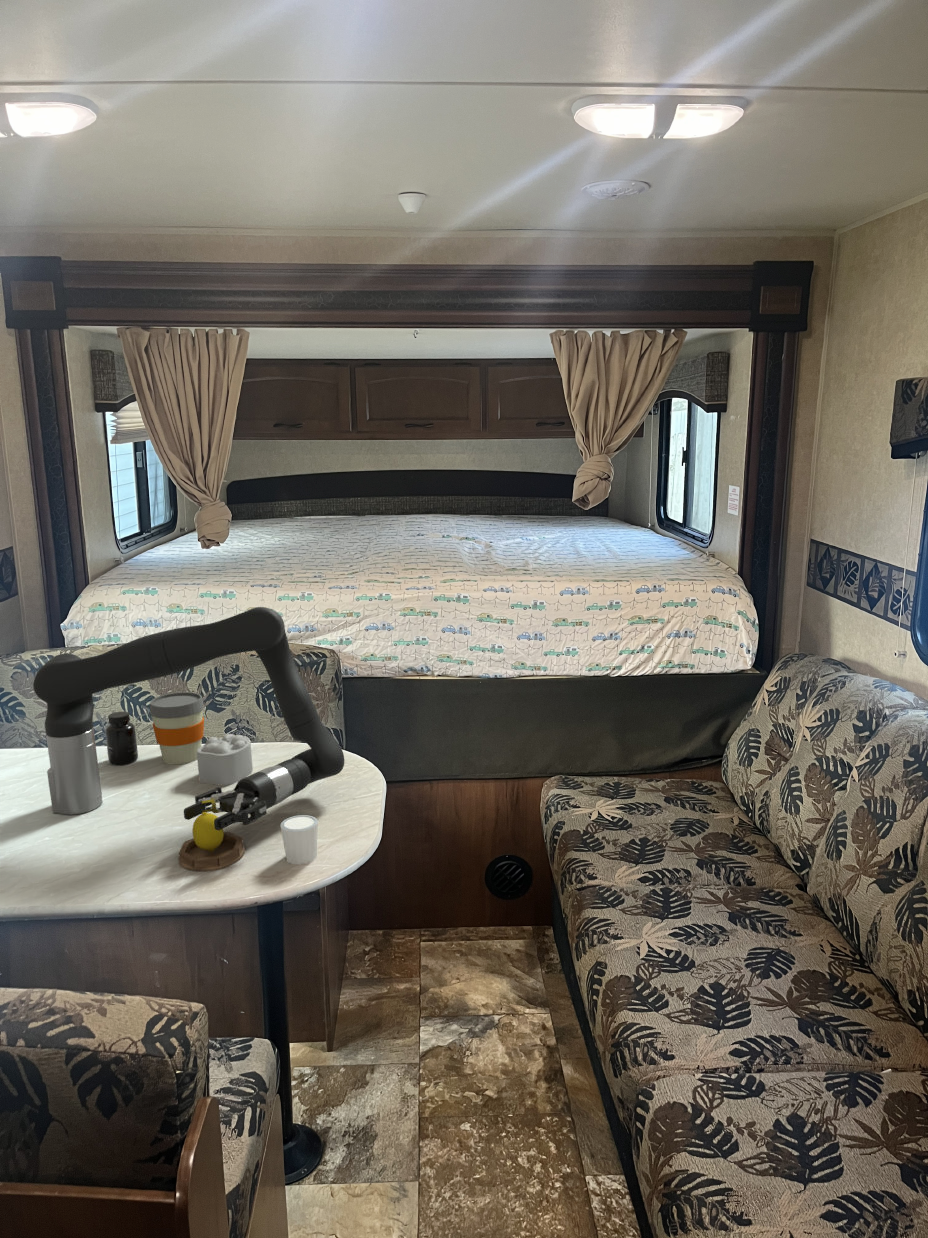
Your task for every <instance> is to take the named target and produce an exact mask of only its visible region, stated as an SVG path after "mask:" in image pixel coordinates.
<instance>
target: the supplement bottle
mask: <svg viewBox="0 0 928 1238" xmlns="http://www.w3.org/2000/svg"><path fill="white" fill-rule="evenodd" d="M130 716H131V715H130V712H128V711H117V712H116V711H115V712H112V713H110V714H108V716H107V718H108V721H107V722H108V725H107V726H106V728H105V729H104V730H105V732H104V733H105V741H106V747H107V749H106V751H107V757H108V758H107V759H108V762H109V764H110V765H112V766H126V765H130V764H133V763H134V762H136V761H137V760H138V759H139V751H138V743H137V742H138V741H137V733H136V732H137V731H136V725H135V724H134V723H133V722H131V717H130Z"/></svg>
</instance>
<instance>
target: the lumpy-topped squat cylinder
mask: <svg viewBox="0 0 928 1238" xmlns="http://www.w3.org/2000/svg"><path fill="white" fill-rule="evenodd" d="M252 753H253V752H252V741H251V740H250V738H249V737H248V736H246V735H242V734H236V735H235V734H233V733H227V734H225V735H224V736H222V737H216V736H211V737H209V738H208V739H207V740H206V742H205V744H203V745H201V747H200V748H199V749H197V760H196V761H197V769H198V771H197V772H198V780H199V782H200V783H202V782H203V783H202V784H213V785H217V786H229V785H233V784H235V783H236V784H237V783H238V782H239V781H240V780H241V779H243V778H245V777H247V776H250V775H252V773H253V769H254V766H253V755H252Z"/></svg>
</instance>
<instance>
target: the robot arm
mask: <svg viewBox="0 0 928 1238" xmlns="http://www.w3.org/2000/svg"><path fill="white" fill-rule="evenodd" d="M285 627H286V626H285V622H284V620H283V618H282V616H281V615H280V614H279V613H278V612H277V611H276V610H274V609H273V608H270V607H264V606H257V607H253V608H250V609H248V610H246V611H242V612H241V613H238V614H235V615H233V616H230V617H226V618H224V619H221V620H218V621H214V622H210V623H206V624H199V625H198V624H197V625H190V626H184V627H178V628H174V629H168V630H164V631H159V632H155V633H152V634H148V635H144V636H142V637H139V638H136V639H133V640H131V641H129V642H126V643H124V644H122V645H120V646H117V647H115V648H113V649H111V650H109V651H107V652H104V653H101V654H98V655H94V656H89V657H85V658H81V657H80V656H78V655H75V654H73V653H60V654H58V655H55V656H52V658H50V659H49V660H48V661H47V662H45V663H44V664H43V665H42V666H41V667H40V668H39V669H38V671H37V673H36V674H35V676H34V679H33V684H32V686H33V687H32V688H33V691H34V694H35V695H36V696H37V698H39V699H40V700H41V701H43V702H45V703H46V705H47V708H46V714H45V715H46V716H45V720H44V730H45V737H46V745H47V753H48V759H49V765H50V766H49V769H48V770H47V771H46V774H47V779H48V787H49V796H50V803H51V808H52V809H51V810H52V813H53V814H56V813H57V814H62V815H79V814H83V813H88V812H91V811H93V810H95V809H97V808H99V807H100V806H102V803H103V792H102V785H101V779H100V778H101V777H100V776H101V775H100V769H99V763H98V761H99V760H98V754H97V745H96V738H95V737H96V736H95V729H94V721H93V719H94V709H95V708H94V697H93V694H96V693H99V692H102V691H106V690H109V689H112V688H115V687H116V688H118V687H122V686H126V685H127V686H128V685H133V684H136V683H141V682H145V681H150V680H153V679H159V678H164V677H167V676H170V675H171V676H172V675H174V674H178V673H181V672H185V671H187V670H191V669H194V668H196V667H199V666H201V665H203V664H205V663H207V662H210V661H213V660H216V659H217V658H221V657H225V656H230V655H234V654H241V653H248V652H249V653H250V652H254V651H255V653H256V654H257V656H258V657H259V659H260V661H261V663H262V664H263V667H264V668H265V670H266V672H267V675H268V678H269V680H270V683H271V686H272V689H273V692H274V697H275V699H276V702H277V704H278V708H279V711H280V713H281V715H282V718H283V721H284V723H285V724H286V727H287V729H288V731H289V734H290V736H291V737H292V738H293V740H294V741H297V742H305V743H306V744H307V745H308V746H309V748H308V749H306V750H304V751H302V752H300V753H298V754H297V755H295V756H293V757H291V758H289V759H286V760H284V761H282V762H280V763H276V764H275V765H272V766H269V767H266V768H264V769H263V768H262V769H261V770H259V771H257V772H254V773H253V774H252V773H251V774H250V775H248V776H247V777H245V778H243V779H241V780H240V781H238V782H236V785H235V787H234V788H233V789H232V790H227V791H225V792H224V791H223V790H222V787H220V786H218V787H215V788H213V789H209V790H208V791H205V792H203V793H200V794H197V795H196V796H195V797H194V801H195V803H193V804H191V805H190V806H189V805H188V806H187V807H185V808H184V809H183V818H184V820H187V821H189V820H192V819H193V818H195V817H196V818H197V817H198V816H200V815H201V814H202V813H203V812H207V813H212V814H219V813H224V814H222V815H220V816H217V817H218V818H216V819H215V820H214V826H215V829H216V830H218V831H219V830H221V829H223V830H224V829H225V828H227V827H229V826H231V825H239V824H241V823H242V826H247V825H250V824H251V823H253V822H255V821H257V820H258V819H260V818H263V817H264V816H266V815H267V814H268V812H267V811H268V809H270V808H272V807H275V806H276V805H278V804H279V803H282V802H283V801H285V800H286V799H287V798H289V797H291V796H293V795H295V794H297V793H299V792H300V791H302V790H304V789H305V788H307V787H308V785H310V784H312V783H315V782H317V781H321V780H324V779H326V778H330V777H334V776H337V775H338V774H340V773H341V772H342V771H343V769H344V766H345V755H344V752H343V749H342V747H341V745H340V744H339V742H338V741H337V740H336V738H335V737H334V736H333V734H332V733H331V732H330V730H329V729H328V728H327V727H326V726H325V725H324V723H323V722H322V719H321V718H320V715H319V713H318V710H317V709H316V707H315V704H314V702H313V700H312V697H311V695H310V693H309V691H308V689H307V687H306V685H305V683H304V681H303V678H302V677H301V675H300V672H299V670H298V668H297V666H296V663H295V661H294V658H293V655H292V652H291V649H290V646H289V642H288V637H287V634H286V633H287V632H286V628H285ZM217 804H219V807H217Z"/></svg>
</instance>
